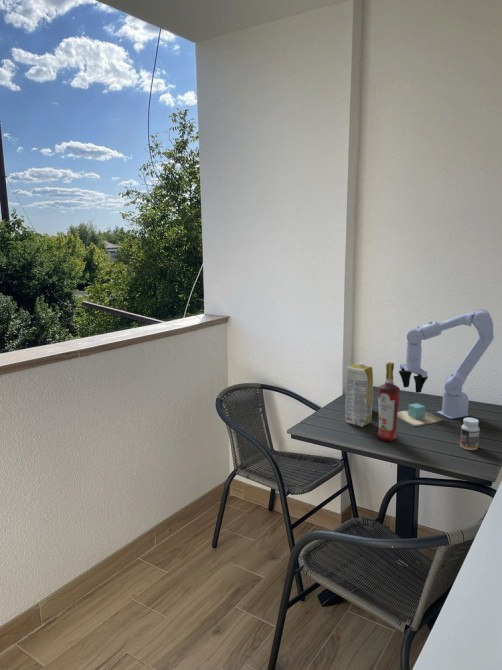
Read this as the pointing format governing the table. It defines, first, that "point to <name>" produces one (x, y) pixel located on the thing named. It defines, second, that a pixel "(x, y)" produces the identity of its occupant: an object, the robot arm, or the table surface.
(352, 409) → the juice carton
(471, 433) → the pill bottle
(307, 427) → the table surface
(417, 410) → the teal cube
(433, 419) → the birch board
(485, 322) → the robot arm
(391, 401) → the liquor
